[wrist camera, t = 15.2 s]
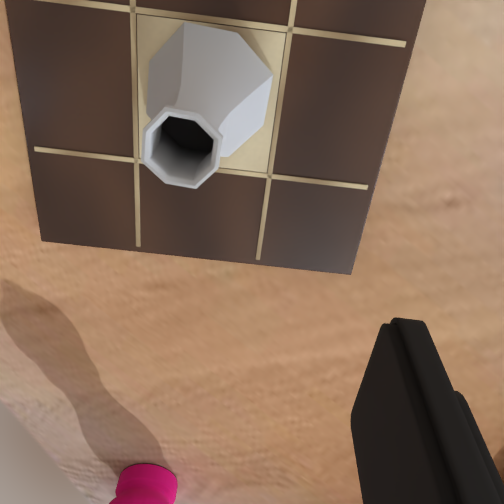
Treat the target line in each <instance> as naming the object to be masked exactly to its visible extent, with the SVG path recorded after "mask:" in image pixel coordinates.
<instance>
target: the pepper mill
mask: <svg viewBox="0 0 504 504" xmlns="http://www.w3.org/2000/svg"><path fill="white" fill-rule="evenodd" d="M177 484H178V483H177V480H176V478H175V476H174V475H173V474H172V473H171V472H170V471H169V470H167V469H165V468H163V467H160V466H157V465H153V464H137V465H133V466H130V467H128V468H126V469H125V470H124V471H123V472H122V473H121V474H120V477H119V481H118V484H117V487H116V496H117V497H116V498H115V499H113V500H112V501H111V502H110V503H109V504H173V503H174V501H175V498H176V492H177Z"/></svg>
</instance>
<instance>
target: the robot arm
mask: <svg viewBox="0 0 504 504" xmlns="http://www.w3.org/2000/svg"><path fill="white" fill-rule="evenodd" d="M351 431H352V437H353V444H354V450H355V456H356V462H357V468H358V474H359V480H360V487H361V493H362V499H363V504H504V484H503V482H502V480H501V478H500V475H499V473H498V471H497V469H496V466H495V464H494V462H493V460H492V457H491V455H490V453H489V451H488V448H487V446H486V444H485V442H484V439H483V437H482V435H481V433H480V430H479V428H478V426H477V424H476V421H475V419H474V417H473V415H472V412H471V410H470V408H469V406H468V403H467V401H466V400H465V398H464V396H463V395H462V394H461V393H459V392H458V391H454V390H453V387H452V385H451V382H450V380H449V378H448V375H447V373H446V371H445V368H444V366H443V364H442V361H441V359H440V357H439V354H438V352H437V350H436V347H435V345H434V343H433V340H432V338H431V335H430V333H429V331H428V328H427V326H426V324H425V323H424V322H423V321H420V320H412V319H404V318H393V319H392V320H391V322H390V324H386V323H384V324H382V326H381V328H380V331H379V333H378V336H377V339H376V342H375V345H374V348H373V351H372V354H371V357H370V359H369V362H368V365H367V368H366V371H365V374H364V377H363V380H362V383H361V385H360V388H359V391H358V394H357V397H356V400H355V403H354V406H353V409H352V412H351Z"/></svg>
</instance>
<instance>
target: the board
mask: <svg viewBox="0 0 504 504" xmlns="http://www.w3.org/2000/svg"><path fill="white" fill-rule="evenodd" d="M5 3H6V9H7V16H8V22H9V29H10V36H11V42H12V49H13V55H14V62H15V69H16V75H17V82H18V88H19V95H20V102H21V108H22V115H23V121H24V128H25V135H26V141H27V148H28V154H29V161H30V168H31V174H32V181H33V187H34V194H35V201H36V207H37V214H38V220H39V227H40V234H41V240H42V241H46V242H55V243H64V244H73V245H82V246H91V247H101V248H110V249H119V250H128V251H137V252H146V253H156V254H165V255H174V256H183V257H192V258H201V259H210V260H220V261H229V262H238V263H247V264H256V265H265V266H275V267H284V268H293V269H302V270H311V271H320V272H330V273H339V274H348V275H351V273H352V269H353V265H354V262H355V258H356V254H357V251H358V247H359V243H360V240H361V236H362V233H363V229H364V225H365V222H366V218H367V214H368V211H369V207H370V203H371V200H372V196H373V192H374V189H375V185H376V182H377V178H378V174H379V171H380V167H381V163H382V160H383V156H384V152H385V149H386V145H387V142H388V138H389V134H390V131H391V127H392V123H393V120H394V116H395V112H396V109H397V105H398V102H399V98H400V94H401V91H402V87H403V83H404V80H405V76H406V72H407V69H408V65H409V61H410V58H411V54H412V51H413V47H414V43H415V40H416V36H417V32H418V29H419V25H420V21H421V18H422V14H423V11H424V7H425V3H426V0H5ZM184 22H187V23H192V24H197V25H202V26H207V27H212V28H217V29H222V30H227V31H232V32H237V33H238V34H239V35H240V36H241V37H242V38H243V39H244V41H245V42H246V43H247V44H248V45H249V47H250V48H251V49H252V50H253V51H254V52H255V54H256V55H257V56H258V57H259V58H260V59H261V61H262V62H263V63H264V64H265V65H266V67H267V68H268V69H269V70H270V71H271V72H272V74H273V79H272V84H271V89H270V94H269V100H268V105H267V110H266V115H265V120H264V125H263V126H262V127H261V128H260V129H259V130H258V131H257V132H255V133H254V134H253V135H252V136H251V137H250V138H249V139H248V140H247V141H246V142H244V143H243V144H242V145H241V146H240V147H239V148H238V149H237V150H236V151H235V152H233V153H232V154H231V155H230V156H229V157H220V162H219V168H218V170H216V171H215V172H214V173H213V174H212V175H211V176H210V177H209V178H208V179H206V180H205V181H204V182H203V183H202V184H201V185H200V186H199V187H198V188H197V189H193V188H188V187H182V186H177V185H171V184H165V183H164V182H163V181H162V180H161V179H160V178H159V177H157V176H156V175H155V174H154V173H153V172H152V171H151V170H150V169H149V168H148V167H147V166H146V165H144V164H143V163H142V162H141V152H142V134H143V129H144V127H145V126H146V125H147V124H148V123H149V122H150V121H151V119H150V118H149V116H148V115H147V113H146V107H147V90H148V73H149V61H150V60H151V59H152V58H153V56H154V55H155V54H156V53H157V52H158V51H159V50H160V49H161V47H162V46H163V45H164V44H165V43H166V42H167V41H168V40H169V39H170V37H171V36H172V35H173V34H174V33H175V32H176V31H177V30H178V28H179V27H180V26H181V25H182V24H183V23H184Z"/></svg>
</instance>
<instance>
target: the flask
mask: <svg viewBox="0 0 504 504" xmlns="http://www.w3.org/2000/svg"><path fill="white" fill-rule="evenodd" d="M272 79H273V74H272V72H271V71H270V70H269V69H268V68H267V67H266V65H265V64H264V63H263V62H262V61H261V59H260V58H259V57H258V56H257V55H256V54H255V52H254V51H253V50H252V49H251V48H250V47H249V45H248V44H247V43H246V42H245V41H244V39H243V38H242V37H241V36H240V35H239V34H238V33H237V32H232V31H227V30H222V29H217V28H212V27H207V26H202V25H197V24H192V23H187V22H184V23H183V24H182V25H181V26H180V27H179V28H178V30H177V31H176V32H175V33H174V34H173V35H172V36H171V37H170V39H169V40H168V41H167V42H166V43H165V44H164V45H163V46H162V47H161V49H160V50H159V51H158V52H157V53H156V54H155V55H154V56H153V58H152V59H151V60H150V61H149V73H148V90H147V107H146V113H147V115H148V116H149V118H150V119H151V121H150V122H149V123H148V124H147V125H146V126H145V127H144V129H143V134H142V152H141V162H142V163H143V164H144V165H146V166H147V167H148V168H149V169H150V170H151V171H152V172H153V173H154V174H155V175H156V176H157V177H159V178H160V179H161V180H162V181H163V182H164V183H165V184H171V185H177V186H182V187H188V188H193V189H197V188H198V187H199V186H200V185H201V184H202V183H203V182H204V181H205V180H206V179H208V178H209V177H210V176H211V175H212V174H213V173H214V172H215V171H216V170H218V168H219V162H220V157H229V156H230V155H231V154H232V153H233V152H235V151H236V150H237V149H238V148H239V147H240V146H241V145H242V144H243V143H244V142H246V141H247V140H248V139H249V138H250V137H251V136H252V135H253V134H254V133H255V132H257V131H258V130H259V129H260V128H261V127H262V126H263V125H264V120H265V115H266V110H267V105H268V100H269V94H270V89H271V84H272Z"/></svg>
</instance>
